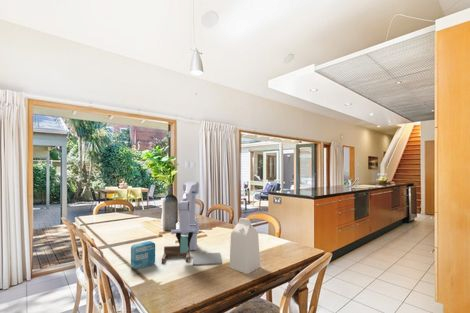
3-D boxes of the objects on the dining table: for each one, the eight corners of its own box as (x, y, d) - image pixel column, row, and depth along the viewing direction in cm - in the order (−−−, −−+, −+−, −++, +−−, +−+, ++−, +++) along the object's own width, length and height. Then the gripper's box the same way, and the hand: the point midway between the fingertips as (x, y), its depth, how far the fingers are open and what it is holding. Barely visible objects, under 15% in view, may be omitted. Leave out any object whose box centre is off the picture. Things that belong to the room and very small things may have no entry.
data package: (133, 270, 130) (134, 247, 130) (130, 267, 133) (130, 245, 134) (155, 263, 138) (155, 242, 139) (151, 261, 141) (151, 240, 142)
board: (193, 255, 151) (193, 253, 151) (219, 253, 153) (219, 252, 153) (192, 265, 135) (192, 264, 135) (221, 264, 137) (221, 262, 137)
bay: (164, 256, 149) (164, 246, 149) (189, 255, 151) (189, 245, 151) (161, 263, 139) (161, 252, 139) (188, 261, 141) (188, 251, 141)
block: (181, 249, 142) (181, 235, 142) (188, 249, 143) (188, 235, 143) (180, 253, 136) (180, 238, 136) (187, 252, 137) (187, 238, 137)
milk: (260, 267, 133) (259, 218, 134) (246, 274, 124) (246, 222, 125) (243, 261, 141) (242, 215, 142) (229, 267, 132) (229, 218, 133)
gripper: (170, 224, 135) (170, 249, 135) (197, 223, 137) (197, 247, 136) (172, 221, 142) (172, 245, 142) (197, 220, 144) (197, 243, 143)
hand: (184, 246), depth 139 cm, fingers closed on block, 4 cm apart
